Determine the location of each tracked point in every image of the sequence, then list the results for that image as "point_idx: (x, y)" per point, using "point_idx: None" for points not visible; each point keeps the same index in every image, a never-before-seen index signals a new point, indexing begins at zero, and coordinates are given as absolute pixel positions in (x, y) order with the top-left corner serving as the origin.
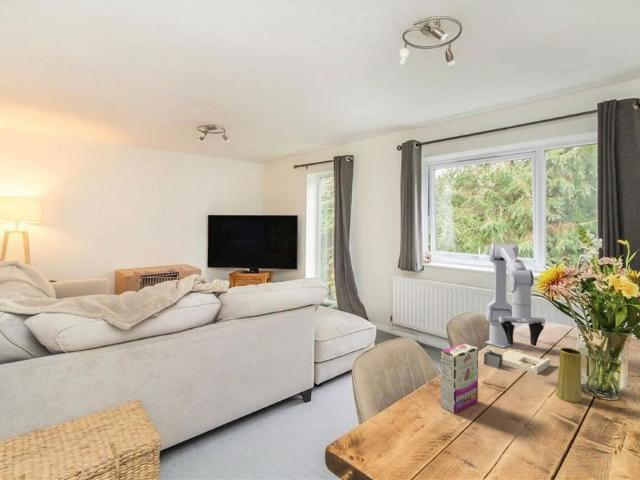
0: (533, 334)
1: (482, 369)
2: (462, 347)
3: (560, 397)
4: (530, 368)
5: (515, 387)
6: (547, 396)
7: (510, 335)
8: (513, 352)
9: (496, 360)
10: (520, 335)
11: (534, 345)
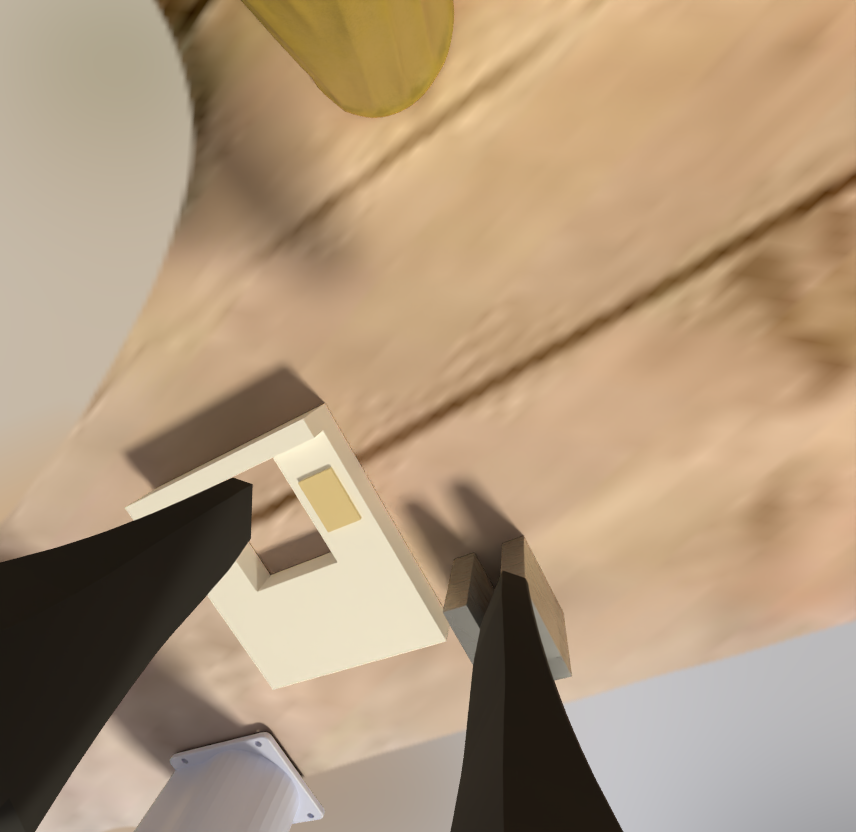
0: (142, 601)
1: (647, 553)
2: None
3: (452, 9)
4: (336, 448)
5: (651, 253)
6: (524, 67)
7: (550, 688)
8: (275, 658)
9: (529, 579)
10: (76, 804)
11: (246, 484)
